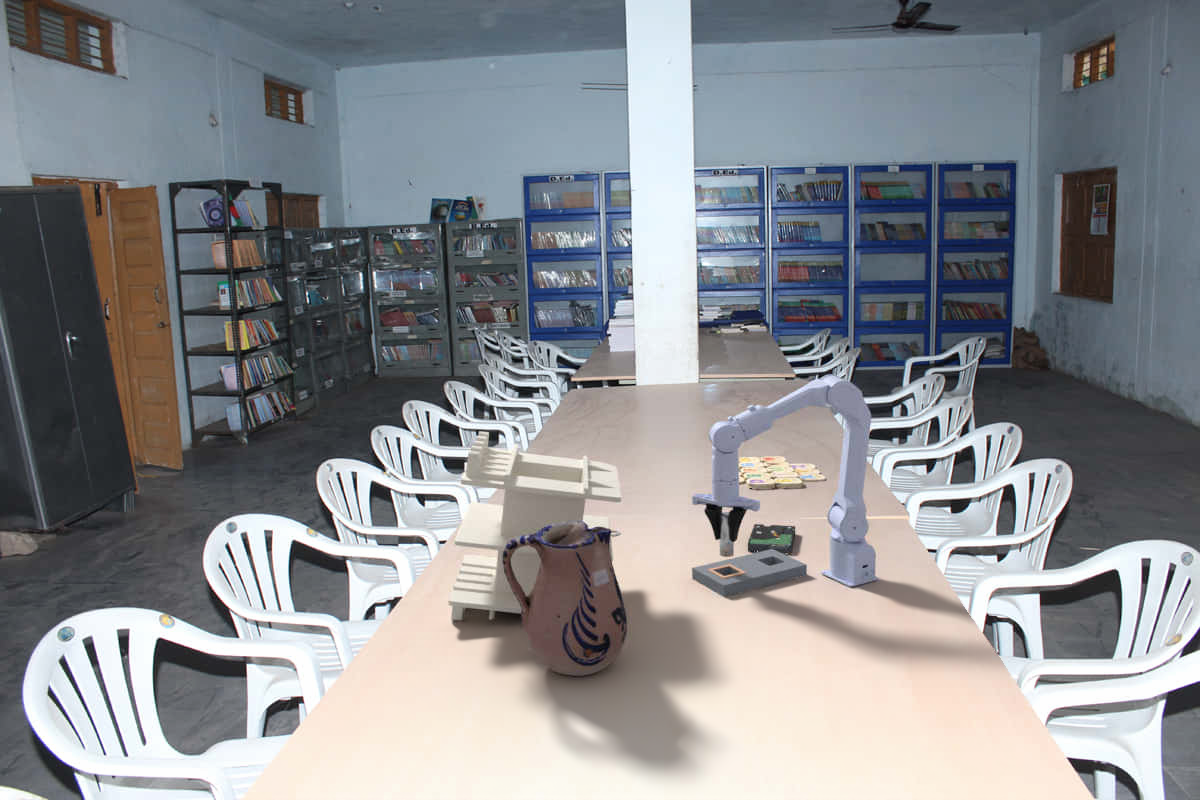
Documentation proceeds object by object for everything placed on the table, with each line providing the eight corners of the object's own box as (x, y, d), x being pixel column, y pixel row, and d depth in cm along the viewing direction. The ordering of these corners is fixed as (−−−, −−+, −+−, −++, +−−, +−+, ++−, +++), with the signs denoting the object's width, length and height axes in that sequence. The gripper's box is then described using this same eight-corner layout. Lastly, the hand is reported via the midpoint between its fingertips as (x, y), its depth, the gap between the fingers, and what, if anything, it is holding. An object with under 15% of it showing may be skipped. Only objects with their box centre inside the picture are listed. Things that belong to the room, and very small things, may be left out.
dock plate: (806, 575, 199) (806, 563, 199) (723, 596, 189) (723, 584, 189) (772, 559, 210) (772, 548, 209) (692, 578, 200) (692, 567, 199)
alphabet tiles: (832, 488, 266) (832, 480, 265) (720, 492, 266) (720, 484, 266) (808, 461, 298) (808, 453, 298) (709, 464, 299) (709, 457, 299)
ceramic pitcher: (641, 678, 156) (637, 539, 151) (521, 700, 150) (512, 556, 146) (611, 637, 172) (606, 510, 168) (501, 655, 167) (493, 524, 162)
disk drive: (753, 534, 229) (747, 553, 215) (753, 523, 229) (747, 542, 215) (795, 536, 227) (792, 556, 212) (795, 525, 226) (792, 544, 212)
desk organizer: (462, 577, 205) (478, 427, 199) (599, 592, 206) (618, 443, 200) (445, 627, 179) (462, 456, 173) (601, 644, 180) (624, 474, 174)
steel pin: (736, 554, 196) (736, 514, 194) (727, 557, 194) (726, 517, 192) (726, 551, 198) (725, 511, 196) (716, 554, 196) (716, 514, 194)
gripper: (764, 476, 193) (764, 537, 195) (700, 470, 199) (701, 529, 202) (754, 485, 187) (754, 548, 189) (688, 478, 193) (689, 539, 196)
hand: (726, 539), depth 195 cm, fingers closed on steel pin, 3 cm apart
